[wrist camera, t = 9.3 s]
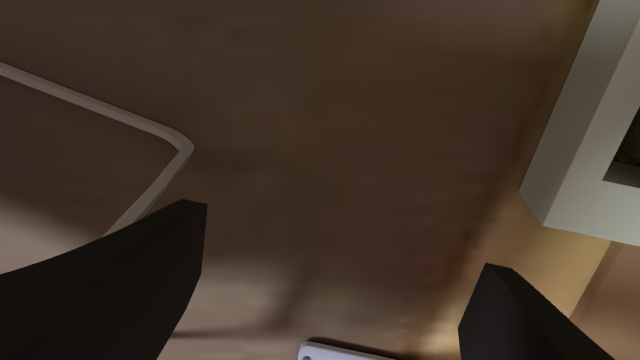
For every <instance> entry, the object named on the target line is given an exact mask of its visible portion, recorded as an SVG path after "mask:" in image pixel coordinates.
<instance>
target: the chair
mask: <svg viewBox="0 0 640 360" xmlns="http://www.w3.org/2000/svg"><path fill="white" fill-rule="evenodd" d="M0 75H1V76H4V77H7V78H9V79H12V80H14V81H17V82H19V83H22V84H25V85H27V86H30V87H32V88H35V89H38V90H40V91H43V92H45V93H48V94H51V95H53V96H56V97H58V98H61V99H63V100H66V101H69V102H71V103H74V104H76V105H79V106H82V107H84V108H87V109H89V110H92V111H95V112H97V113H100V114H102V115H105V116H107V117H110V118H113V119H115V120H118V121H120V122H123V123H126V124H128V125H131V126H133V127H136V128H139V129H141V130H144V131H147V132H149V133H152V134H154V135H157V136H159V137H161V138H164V139H165V140H167V141H168V142H170V143H171V144H172V145H173V146H174V147H175V148H177V149H178V151H179V153H178V154H177V155H176V156H175V157H174V158H173V159H172V161H171V162H170V163H169V164H168V165H167V167H166V168H165V169H164V170H163V171H162V173H161V174H160V175H159V176H158V178H157V179H156V180H155V181H154V182H153V184H152V185H151V186H150V187H149V188H148V189H147V190H146V191H145V192H144V193H143V194H142V195H141V196H140V197H139V198H138V199H137V200H136V201H135V203H134V204H133V205H132V206H131V207H130V208H129V209H128V210H127V211H126V212H125V213H124V214H123V215H122V216H121V217H120V218H119V219H118V220H117V221H116V222H115V224H114V225H113V226H112V227H111V228H110V229H109V230H108V231H107V232H106V233H105V234H104V235H103V236H102V237H104V236H106V235H109V234H111V233H113V232H115V231H118V230H120V229H122V228H124V227H126V226H128V225H130V224H132V223H134V222H136V221H138V220H140V219H142V218H143V217H144V216H145V215H146V214H147V213H148V211H149V210H150V209H151V208H152V207H153V206H154V204H155V203H156V202H157V201H158V200H159V199H160V198H161V197H162V195H163V194H164V193H165V191H166V190H167V189H168V187H169V186H170V185H171V183H172V182H173V180H174V179H175V178H176V176H177V175H178V174H179V172H180V171H181V170H182V168H183V167H184V166H185V165H186V163H187V162H188V161H189V160H190V159H191V156H192V153H193V150H194V145H193V143H192V142H191V141H190V140H189V139H188V138H186V137H185V136H184V135H183V134H181V133H180V132H178V131H176V130H174V129H172V128H169V127H167V126H164V125H162V124H159V123H156V122H154V121H151V120H149V119H146V118H143V117H141V116H138V115H136V114H133V113H131V112H128V111H125V110H123V109H120V108H118V107H115V106H112V105H110V104H107V103H105V102H102V101H100V100H97V99H94V98H92V97H89V96H87V95H84V94H82V93H79V92H76V91H74V90H71V89H69V88H66V87H64V86H61V85H58V84H56V83H53V82H51V81H48V80H46V79H43V78H40V77H38V76H35V75H33V74H30V73H28V72H25V71H22V70H20V69H17V68H15V67H12V66H9V65H7V64H4V63H2V62H0ZM102 237H101V238H102Z"/></svg>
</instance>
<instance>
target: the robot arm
mask: <svg viewBox="0 0 640 360" xmlns="http://www.w3.org/2000/svg"><path fill="white" fill-rule="evenodd" d="M206 215H207V204H204V203H199V202H194V201H190V200H185V199H181V200H179V201H176V202H174V203H172V204H170V205H168V206H166V207H164V208H162V209H160V210H158V211H156V212H154V213H152V214H150V215H148V216H146V217H144V218H142V219H140V220H138V221H136V222H134V223H132V224H130V225H128V226H126V227H124V228H122V229H120V230H118V231H115V232H113V233H111V234H109V235H106V236H104V237H102V238H99V239H97V240H95V241H92V242H90V243H88V244H85V245H83V246H81V247H79V248H76V249H74V250H71V251H69V252H66V253H64V254H61V255H58V256H55V257H53V258H50V259H47V260H44V261H41V262H38V263H35V264H32V265H29V266H26V267H23V268H20V269H17V270H14V271H11V272H7V273H3V274H0V360H156V359H157V358H158V356H159V354H160V353H161V351H162V349H163V348H164V346H165V344H166V343H167V341H168V339H169V337H170V336H171V334H172V332H173V331H174V329H175V327H176V326H177V324H178V322H179V320H180V319H181V317H182V315H183V313H184V312H185V310H186V308H187V306H188V303H189V301H190V299H191V297H192V294H193V292H194V290H195V287H196V285H197V282H198V280H199V278H200V275H201V269H202V258H203V247H204V236H205V226H206ZM458 334H459V344H460V353H461V360H615V359H614V358H613V357H612V356H610V355H609V354H608V353H607V352H606V351H604V350H603V349H602V348H601V347H600V346H599V345H597V344H596V343H595V342H594V341H593V340H592V339H590V338H589V337H588V336H587V335H586V334H585V333H584V332H583V331H581V330H580V329H579V328H578V327H577V326H576V325H575V324H574V323H572V322H571V321H570V320H569V319H568V318H567V317H566V316H565V315H564V314H563V313H561V312H560V311H559V310H558V309H557V308H556V307H555V306H554V305H553V304H552V303H551V302H550V301H548V300H547V299H546V298H545V297H544V296H543V295H542V294H541V293H540V292H539V291H538V290H536V289H535V288H534V287H533V286H532V285H531V284H530V283H529V282H527V281H526V280H525V279H524V278H523V277H522V276H520V275H519V274H518V273H517V272H515V271H514V270H513V269H511V268H507V267H503V266H498V265H493V264H489V263H485V265H484V268H483V270H482V272H481V275H480V277H479V279H478V282H477V284H476V286H475V289H474V291H473V294H472V296H471V298H470V301H469V303H468V305H467V308H466V310H465V312H464V315H463V317H462V320H461V322H460V324H459V327H458ZM305 356H309V357H310V358H307V357H305ZM297 360H395V359H391V358H386V357H381V356H377V355H372V354H367V353H362V352H358V351H353V350H348V349H343V348H339V347H334V346H329V345H324V344H320V343H315V342H308V341H307V342H304V343H302V344H301V346H300V351H299V355H298V359H297Z"/></svg>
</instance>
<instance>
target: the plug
mask: <svg viewBox="0 0 640 360" xmlns="http://www.w3.org/2000/svg"><path fill="white" fill-rule="evenodd" d="M619 148H620V149H621V150H623V151H624V152H626V153H627V154H629V155H630V156H632V157H633V158H635V159H636V160H638V161H639V162H640V107H639V109H638V111H637V112H636V114H635V116H634V118H633V120H632V122H631V124H630V126H629V128H628V130H627V132H626V134H625V136H624V138H623V140H622V142H621V144H620V146H619Z"/></svg>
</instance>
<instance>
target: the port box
mask: <svg viewBox="0 0 640 360" xmlns="http://www.w3.org/2000/svg"><path fill="white" fill-rule="evenodd" d="M639 107H640V0H600V1H599V3H598V6H597V8H596V11H595V13H594V15H593V18H592V20H591V22H590V25H589V27H588V29H587V32H586V34H585V36H584V39H583V41H582V43H581V46H580V48H579V50H578V53H577V55H576V57H575V60H574V62H573V65H572V67H571V69H570V72H569V74H568V76H567V79H566V81H565V83H564V86H563V88H562V90H561V93H560V95H559V97H558V100H557V102H556V104H555V107H554V109H553V111H552V114H551V116H550V118H549V121H548V123H547V126H546V128H545V130H544V133H543V135H542V137H541V140H540V142H539V144H538V147H537V149H536V151H535V154H534V156H533V158H532V161H531V163H530V165H529V168H528V170H527V172H526V175H525V177H524V180H523V182H522V184H521V187H520V189H519V191H518V193H519V194H520V196H521V197H522V199H523V200H524V201H525V203H526V204H527V205H528V207H529V208H530V210H531V211H532V212H533V214H534V215H535V217H536V218H537V219H538V221H539V222H540V224H541V225H542V226H544V227H549V228H554V229H559V230H563V231H568V232H573V233H578V234H582V235H587V236H592V237H597V238H601V239H606V240H611V241H616V242H620V243H625V244H630V245H635V246H639V247H640V167H639V166H635V165H630V164H625V163H620V162H616V161H612V160H613V158H614V156H615V154H616V152H617V150H618V148H619V146H620V144H621V142H622V140H623V138H624V136H625V134H626V132H627V130H628V128H629V126H630V124H631V122H632V120H633V118H634V116H635V114H636V112H637V111H638V109H639Z"/></svg>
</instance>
